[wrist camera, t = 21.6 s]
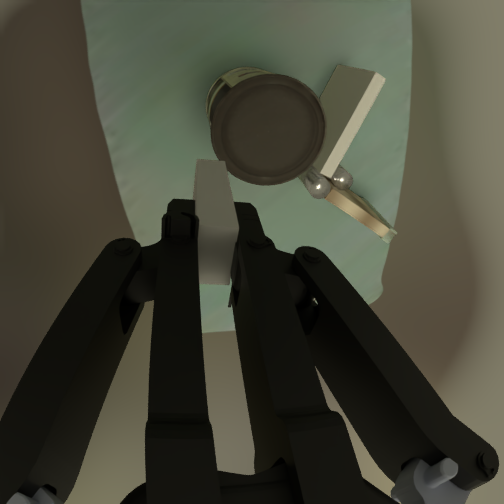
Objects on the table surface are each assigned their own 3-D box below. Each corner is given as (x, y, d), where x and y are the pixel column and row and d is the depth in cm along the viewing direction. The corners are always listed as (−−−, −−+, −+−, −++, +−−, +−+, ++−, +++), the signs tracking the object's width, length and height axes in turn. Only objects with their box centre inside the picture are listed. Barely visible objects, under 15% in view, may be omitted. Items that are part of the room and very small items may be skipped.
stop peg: (318, 148, 42) (341, 169, 36) (331, 155, 43) (356, 177, 36) (310, 162, 43) (331, 186, 37) (323, 169, 44) (346, 193, 38)
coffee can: (238, 157, 41) (257, 206, 30) (188, 100, 35) (185, 124, 24) (301, 113, 39) (346, 144, 27) (255, 51, 33) (286, 51, 22)
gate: (300, 171, 43) (323, 200, 35) (309, 159, 42) (334, 186, 35) (360, 211, 48) (388, 243, 41) (368, 202, 47) (397, 232, 40)
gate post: (290, 146, 41) (316, 175, 33) (305, 153, 42) (334, 183, 34) (282, 161, 42) (306, 194, 34) (297, 167, 43) (323, 201, 35)
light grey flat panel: (337, 64, 35) (375, 72, 27) (346, 70, 36) (386, 79, 28) (294, 145, 41) (319, 173, 33) (303, 149, 42) (330, 178, 34)
